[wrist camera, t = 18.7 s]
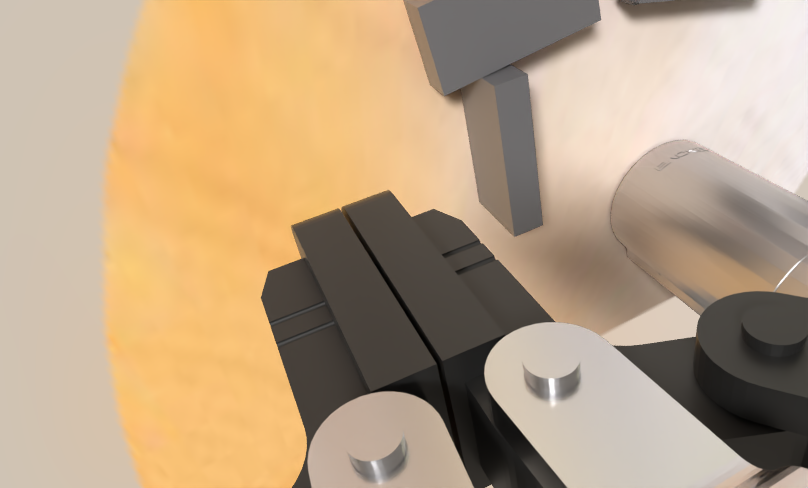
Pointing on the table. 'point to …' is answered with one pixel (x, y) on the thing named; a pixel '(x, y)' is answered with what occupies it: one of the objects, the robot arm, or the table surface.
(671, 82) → the table surface
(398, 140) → the table surface
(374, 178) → the table surface
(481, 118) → the domino
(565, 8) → the domino
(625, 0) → the domino
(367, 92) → the table surface
